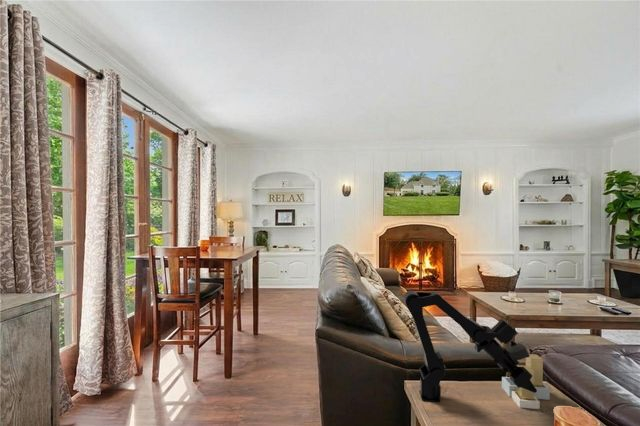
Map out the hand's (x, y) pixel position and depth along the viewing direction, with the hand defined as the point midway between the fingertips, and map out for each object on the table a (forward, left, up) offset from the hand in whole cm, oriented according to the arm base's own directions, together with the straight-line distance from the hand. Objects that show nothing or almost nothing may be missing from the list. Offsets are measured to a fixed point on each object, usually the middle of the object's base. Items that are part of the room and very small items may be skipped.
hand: (529, 384), depth 116 cm
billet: (-1, 0, -7) cm, 7 cm away
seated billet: (+5, +7, -5) cm, 10 cm away
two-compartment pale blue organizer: (+2, +7, -7) cm, 10 cm away
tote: (-1, 0, -7) cm, 7 cm away
